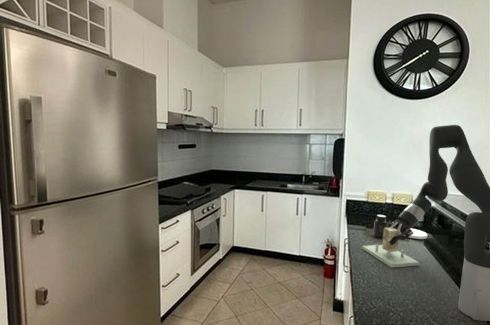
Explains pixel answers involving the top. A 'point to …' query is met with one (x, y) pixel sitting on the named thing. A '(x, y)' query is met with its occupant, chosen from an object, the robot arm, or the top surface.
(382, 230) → the supplement bottle
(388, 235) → the ash block
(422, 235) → the plastic lid
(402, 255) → the peg board
